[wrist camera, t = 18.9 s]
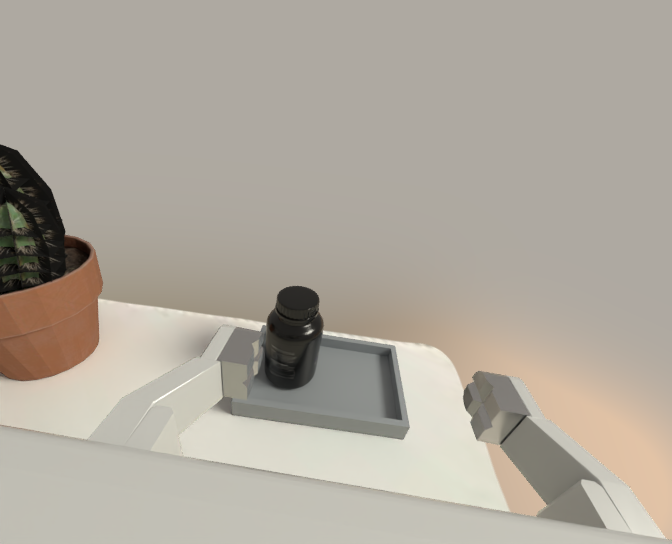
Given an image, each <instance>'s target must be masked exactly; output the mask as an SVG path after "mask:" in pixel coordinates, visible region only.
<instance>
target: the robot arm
mask: <svg viewBox="0 0 672 544" xmlns="http://www.w3.org/2000/svg"><path fill="white" fill-rule="evenodd" d="M263 341H264V333H263V332H259V331H254V330H249V329H244V328H239V327H233V326H228V325H222V326H221V327H220V328H219V330H218V331H217V333H216V334H215V336H214V337H213V339H212V340H211V342H210V343H209V345H208V346H207V348H206V349H205V351H204V352H203V354H202V356H201V357H200V358H199V357H195V358H193V359H191V360H190V361H188V362H186V363H184V364H182V365H181V366H179V367H177V368H175V369H173V370H172V371H170V372H168V373H166V374H164V375H162V376H161V377H159V378H157V379H155V380H153V381H152V382H150V383H148V384H146V385H144V386H143V387H141V388H139V389H137V390H135V391H134V392H132V393H130V394H128V395H126V396H124V397H123V398H122V399H121V400H120V401H119V402H118V403H117V405H116V406H115V407H114V408H113V409H112V411H111V412H110V413H109V414H108V415H107V417H106V418H105V419H104V420H103V421H102V423H101V424H100V425H99V426H98V427H97V429H96V430H95V431H94V432H93V433H92V434H91V436H90V437H89V438H88V439H87V440H85V439H80V438H74V437H68V436H62V435H56V434H50V433H45V432H39V431H33V430H27V429H21V428H15V427H10V426H4V425H0V544H672V540H669V539H666V538H665V537H664V535H663V534H662V532H661V531H660V529H659V528H658V527H657V525H656V524H655V522H654V521H653V520H652V518H651V517H650V515H649V514H648V513H647V511H646V510H645V509H644V507H643V506H642V504H641V503H640V501H639V500H638V499H637V498H636V496H635V494H634V493H633V492H632V490H631V489H630V487H629V486H628V485H626V484H625V483H624V482H623V481H622V480H620V479H619V478H618V477H617V476H616V475H615V474H613V473H612V472H611V471H610V470H609V469H607V468H606V467H605V466H604V465H603V464H602V463H600V462H599V461H598V460H597V459H596V458H595V457H593V456H592V455H591V454H590V453H589V452H587V451H586V450H585V449H584V448H583V447H582V446H580V445H579V444H578V443H577V442H576V441H574V440H573V439H572V438H571V437H570V436H569V435H567V434H566V433H565V432H564V431H563V430H561V429H560V428H559V427H558V426H557V425H556V424H554V423H553V422H552V421H551V420H547V419H545V417H544V415H543V413H542V412H541V410H540V408H539V407H538V405H537V404H536V402H535V400H534V399H533V397H532V395H531V394H530V392H529V390H528V389H527V387H526V385H525V384H524V382H523V381H522V380H521V379H520V378H517V377H511V376H504V375H500V374H494V373H488V372H482V371H478V372H476V373H475V374H474V376H473V377H472V378H473V380H474V382H472V383H470V384H468V385H467V387H466V389H465V390H464V396H463V400H464V405H465V408H466V411H467V412H468V413H469V414H470V415H471V416H472V419H471V422H470V423H471V425H472V428H473V431H474V434H475V437H476V439H477V441H482V442H487V443H492V444H497V445H501V446H500V447H501V448H502V450H503V451H504V452H505V453H506V454H507V456H508V457H509V458H510V460H511V461H512V462H513V463H514V464H515V466H516V467H517V468H518V469H519V471H520V472H521V473H522V474H523V476H524V477H525V478H526V479H527V481H528V482H529V483H530V484H531V486H532V487H533V488H534V489H535V491H536V492H537V493H538V494H539V496H540V497H541V498H542V499H543V500H544V502H545V503H546V504H547V506H546V507H544V508H543V509H542V510H540V511H539V512H538V514H537V517H534V516H529V515H522V514H517V513H511V512H505V511H500V510H494V509H488V508H482V507H476V506H470V505H465V504H459V503H453V502H447V501H441V500H435V499H430V498H424V497H418V496H412V495H406V494H401V493H395V492H389V491H383V490H377V489H371V488H366V487H360V486H354V485H348V484H342V483H336V482H330V481H324V480H319V479H313V478H307V477H301V476H295V475H289V474H283V473H278V472H272V471H266V470H260V469H254V468H248V467H242V466H237V465H231V464H225V463H219V462H213V461H208V460H202V459H196V458H190V457H184V456H183V452H182V448H181V443H180V439H179V435H180V434H181V433H182V432H183V431H184V430H186V429H187V428H188V427H189V426H190V425H192V424H193V423H194V422H195V421H196V420H197V419H199V418H200V417H201V416H202V415H203V414H205V413H206V412H207V411H208V410H209V409H210V408H212V407H213V406H214V405H215V404H216V403H218V402H219V401H220V400H221V399H222V398H223V397H230V398H237V399H243V400H247V399H248V396H249V394H250V391H251V389H252V386H253V384H254V376H255V375H256V374H258V371H259V368H260V365H261V362H262V357H263V347H262V346H261V345H262V343H263Z"/></svg>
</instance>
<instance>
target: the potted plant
mask: <svg viewBox="0 0 672 544" xmlns="http://www.w3.org/2000/svg"><path fill="white" fill-rule="evenodd" d="M102 286H103V281H102V277H101V273H100V269H99V265H98V261H97V257H96V252H95V249H94V248H93V247H92V245H91V244H90V243H89V242H87V241H85V240H82V239H80V238H78V237H74V236H68V235H65V229H64V226H63V223H62V219H61V217H60V214H59V211H58V208H57V205H56V202H55V199H54V197H53V194H52V191H51V189H50V188H49V187H48V185H47V184H46V183H45V182H44V181H43V180H42V178H41V177H40V176H39V175H38V174H37V173H36V172H35V171H34V169H33V168H32V167H31V166H30V165H29V164H28V162H27V161H26V160H25V159H24V158H23V156H22V155H21V154H20V153H19V152H18V151H17V150H14V149H11V148H9V147H6V146H3V145H0V372H1V373H2V374H4V375H5V376H7V377H8V378H10V379H15V380H21V381H23V380H37V379H41V378H45V377H49V376H53V375H56V374H59V373H61V372H63V371H66V370H68V369H70V368H72V367H74V366H75V365H77V364H79V363H81V362H82V361H84V360H85V359H86V358H87V357H88V356H89V355H90V354H92V353H93V351H94V350H95V348H96V347H97V345H98V342H99V321H98V296H99V295H100V293H101V292H102Z"/></svg>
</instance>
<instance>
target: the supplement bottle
mask: <svg viewBox="0 0 672 544" xmlns="http://www.w3.org/2000/svg"><path fill="white" fill-rule="evenodd" d="M318 307H319V297H318V295H317V293H315V291H313V290H311V289H309V288H306V287H302V286H292V287H291V286H290V287H286V288H284V289H283V290H281V291H280V292H279V294H278V295H277V303H276V307H275V309H274V310H272V312H271V313H270V314H269V316H268V318H267V324H266V343H265V365H264V368H265V374H266V376H267V378H268V380H269V381H270V382H271V383H272V384H274V385H275V386H277V387H279V388H283V389H297V388H300V387H303V386H304V385H306V384H307V383H309V382H310V381H311V379H312V378H313V376H314V374H315V371H316V367H317V361H318V356H319V350H320V345H321V339H322V334H323V327H324V324H323V319H322V317H321V315H320V313H319V312H318V310H319V308H318Z"/></svg>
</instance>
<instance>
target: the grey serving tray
mask: <svg viewBox="0 0 672 544" xmlns="http://www.w3.org/2000/svg"><path fill="white" fill-rule="evenodd" d="M260 332H263V333H264V341H263V343H262V345H261V346H262V347H263V357H262V362H261V365H260V368H259V371H258V374H256V375H255V376H254V384H253V386H252V389H251V391H250V394H249V396H248V399H247V400H243V399H237V398H232V401H231V406H232V415H237V416H244V417H251V418H258V419H265V420H272V421H279V422H286V423H293V424H300V425H307V426H314V427H321V428H328V429H335V430H342V431H349V432H356V433H363V434H370V435H377V436H384V437H391V438H398V439H404V437H405V435H406V433H407V431H408V430H409V428H410V427H409V421H408V415H407V410H406V404H405V399H404V393H403V388H402V382H401V377H400V371H399V366H398V360H397V355H396V349H395V346H393V345H387V344H380V343H374V342H367V341H361V340H355V339H348V338H342V337H335V336H329V335H323V334H322V339H321V345H320V350H319V356H318V361H317V367H316V371H315V374H314V376H313V378H312V379H311V381H310V382H309V383H307V384H306V385H304V386H303V387H300V388H297V389H283V388H279V387H277V386H275V385H274V384H272V383H271V382H270V381H269V380H268V378H267V376H266V374H265V368H264V365H265V343H266V326H265V325H263V326H262V329H261V331H260Z"/></svg>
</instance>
